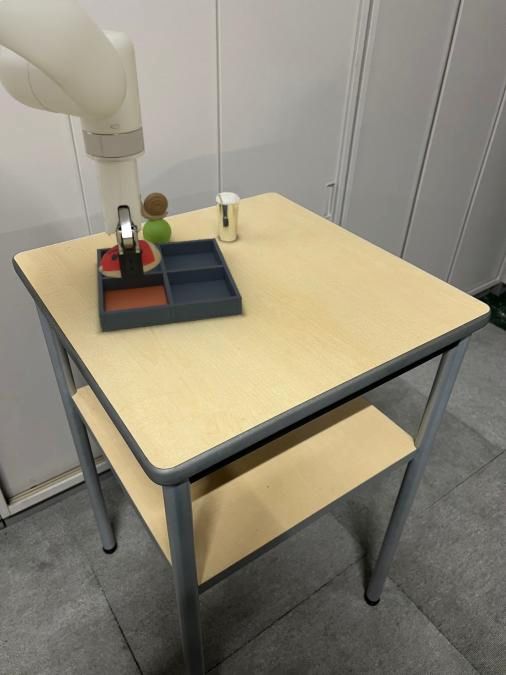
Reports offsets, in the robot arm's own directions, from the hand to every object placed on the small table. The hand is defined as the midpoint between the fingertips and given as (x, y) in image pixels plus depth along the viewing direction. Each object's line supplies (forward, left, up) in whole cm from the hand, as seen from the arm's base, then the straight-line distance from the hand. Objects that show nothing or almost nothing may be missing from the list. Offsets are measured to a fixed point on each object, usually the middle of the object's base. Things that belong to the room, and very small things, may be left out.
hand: (130, 262), depth 77 cm
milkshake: (+19, +21, -8) cm, 30 cm away
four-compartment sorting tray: (+5, +5, -8) cm, 11 cm away
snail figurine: (+5, +21, -8) cm, 23 cm away
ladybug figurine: (0, 0, -1) cm, 1 cm away
